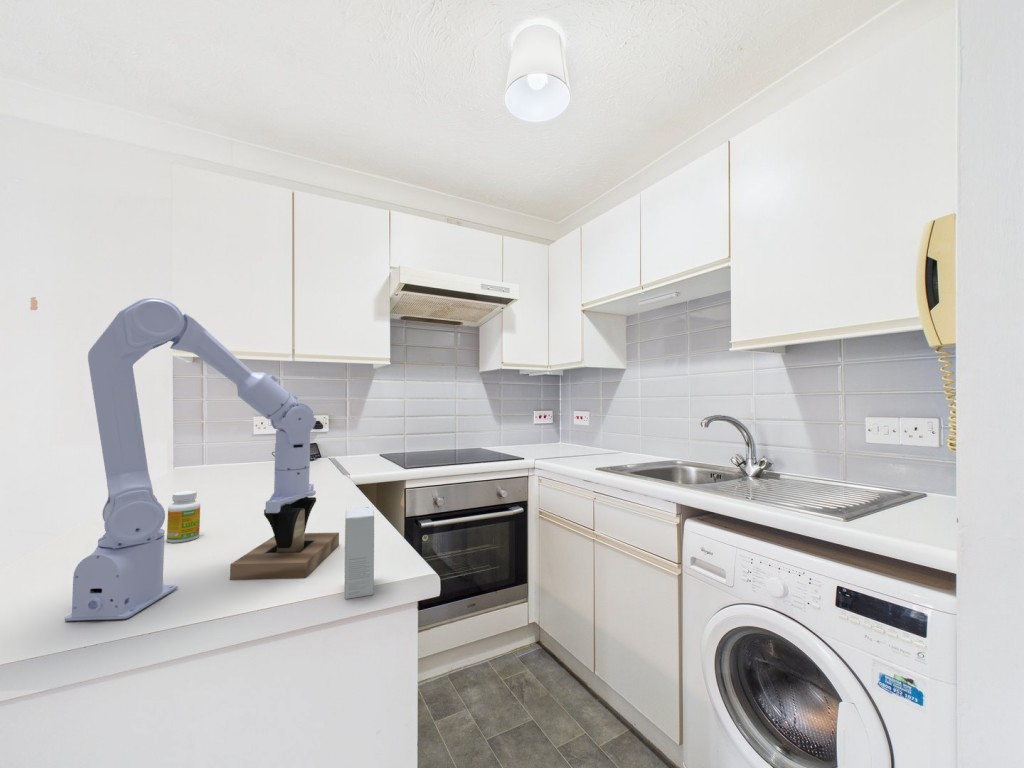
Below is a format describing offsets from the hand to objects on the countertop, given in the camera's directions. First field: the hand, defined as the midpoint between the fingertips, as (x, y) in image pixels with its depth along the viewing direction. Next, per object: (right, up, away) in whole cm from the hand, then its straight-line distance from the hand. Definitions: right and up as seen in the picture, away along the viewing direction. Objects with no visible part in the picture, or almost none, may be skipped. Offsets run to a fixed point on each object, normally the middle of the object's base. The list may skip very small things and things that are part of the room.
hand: (290, 542), depth 76 cm
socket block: (0, -3, 0) cm, 3 cm away
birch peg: (0, -3, 0) cm, 3 cm away
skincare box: (+17, -3, -12) cm, 21 cm away
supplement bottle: (-29, -4, +11) cm, 31 cm away
